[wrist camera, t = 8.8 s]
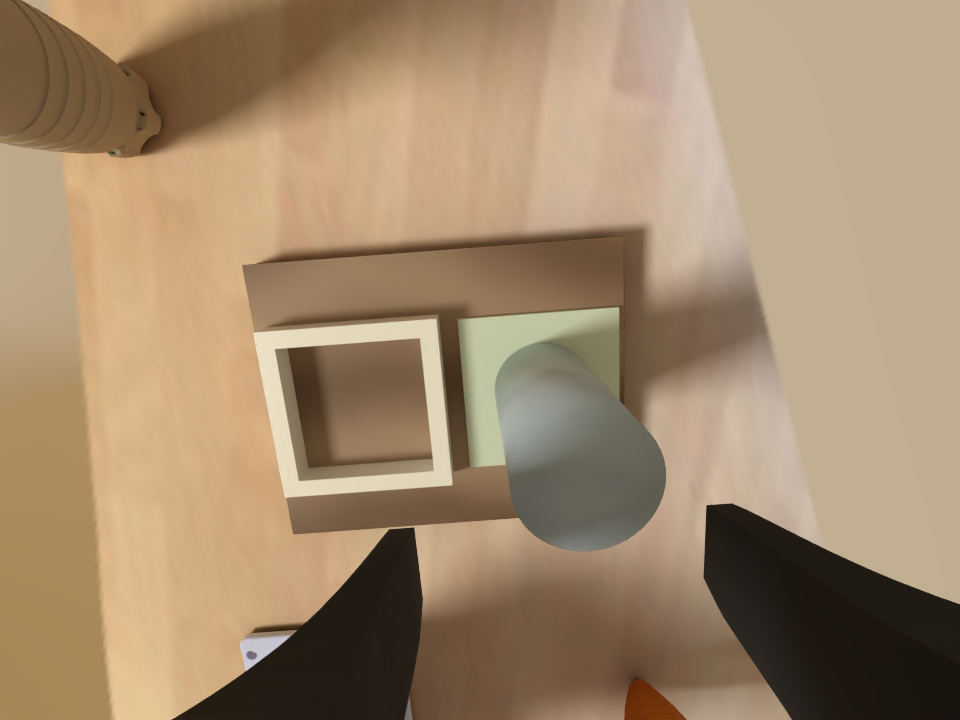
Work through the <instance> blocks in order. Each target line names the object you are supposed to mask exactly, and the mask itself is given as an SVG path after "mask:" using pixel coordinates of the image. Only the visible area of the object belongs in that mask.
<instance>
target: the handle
mask: <svg viewBox="0 0 960 720" xmlns="http://www.w3.org/2000/svg"><path fill="white" fill-rule="evenodd" d="M160 129H161V117H160V116H159V115H158V114H157V113H156V112H155V110H154V109H153V106H152V104H151V101H150V97H149V86H148V84H147V83H146V82H145V81H144V80H143V79H142V78H141V77H140V76H139V75H138V74H136V73H135V72H134V71H133V70H131V69H130V68H128V67H127V66H125V65H124V64H122V63H119V64H116V63H115V62H114V61H113V60H112V59H110V58H109V57H108V56H106V55H105V54H104V53H103V52H101V51H100V50H99V49H98V48H97V47H95V46H94V45H93V44H91V43H90V42H88V41H87V40H85V39H84V38H83V37H81V36H80V35H78V34H76V33H75V32H73V31H72V30H70V29H69V28H67V27H66V26H64V25H62V24H61V23H59V22H58V21H56V20H54V19H53V18H51V17H49V16H48V15H46V14H44V13H43V12H41V11H40V10H38V9H36V8H34V7H32V6H31V5H29V4H27V3H25V2H23V1H22V0H0V143H4V144H8V145H13V146H18V147H24V148H31V149H40V150H46V151H56V152H66V153H83V154H84V153H107V154H108V155H109V156H110V157H119V158H125V157H135V156H138V155H139V154H140V153H141V148H142V146H143V145H144V143H145V142H146V140H148V139H149V138H150V137H151V136H153V135H157V134H159V132H160Z"/></svg>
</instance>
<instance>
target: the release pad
mask: <svg viewBox="0 0 960 720" xmlns="http://www.w3.org/2000/svg"><path fill="white" fill-rule="evenodd" d="M457 320H458V332H459V343H460V355H461V367H462V378H463V390H464V401H465V413H466V425H467V436H468V448H469V459H470V467H483V466H497V465H506V462H505V456H504V450H503V443H502V437H501V431H500V424H499V418H498V412H497V405H496V399H495V381H496V377H497V374H498V372H499V370H500V368H501V366H502V365H503V363H504V362H505V361H506V359H507V358H508V357H509V356H510V355H512V354H513V353H514V352H516V351H517V350H519V349H521V348H522V347H525V346H527V345H531V344H535V343H554V344H558V345H561V346H563V347H566V348H567V349H569V350H571V351H572V352H573V353H575V354H576V355H577V356H578V357H579V358H580V359H581V360H582V361H583V362H584V363H585V365H586V366H587V367H588V368H589V369H590V370H591V371H592V372H593V373H594V374H595V375H596V376H597V377H598V378H599V379H600V380H601V382H602V383H603V384H604V385H605V386H606V387H607V388H608V389H609V390H610V391H611V392H612V393H613V394H614V395H615V396H616V398H617V399H618V400H619V307H607V308H594V309H581V310H567V311H554V312H541V313H528V314H514V315H501V316H488V317H475V318H462V319H457ZM619 401H620V400H619Z"/></svg>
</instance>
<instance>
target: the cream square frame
mask: <svg viewBox="0 0 960 720" xmlns="http://www.w3.org/2000/svg"><path fill="white" fill-rule="evenodd" d="M253 334H254V339H255V345H256V350H257V355H258V360H259V366H260V371H261V376H262V381H263V386H264V392H265V397H266V402H267V407H268V413H269V418H270V423H271V428H272V433H273V439H274V444H275V449H276V454H277V460H278V465H279V470H280V475H281V480H282V486H283V491H284V496H285V498H288V497H301V496H315V495H328V494H342V493H355V492H369V491H383V490H396V489H410V488H423V487H437V486H450V485H453V474H454V470H453V460H452V449H451V439H450V428H449V418H448V407H447V397H446V386H445V376H444V365H443V355H442V345H441V334H440V324H439V314H433V315H420V316H407V317H393V318H380V319H367V320H354V321H341V322H327V323H314V324H301V325H288V326H274V327H265V328H263V329H261V330H258V331H256V332H253ZM416 338H420V344H421V353H422V362H423V372H424V381H425V391H426V400H427V409H428V419H429V428H430V438H431V447H432V456H433V459H421V460H408V461H394V462H381V463H367V464H354V465H340V466H327V467H313V468H308V462H307V457H306V451H305V445H304V440H303V434H302V428H301V422H300V417H299V411H298V405H297V400H296V394H295V388H294V382H293V377H292V371H291V365H290V360H289V354H288V348H296V347H309V346H323V345H336V344H349V343H363V342H376V341H389V340H402V339H416Z"/></svg>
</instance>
